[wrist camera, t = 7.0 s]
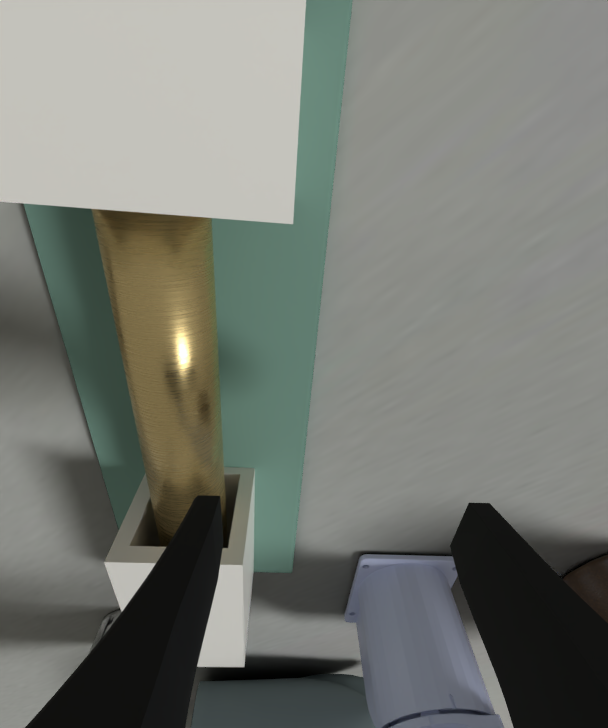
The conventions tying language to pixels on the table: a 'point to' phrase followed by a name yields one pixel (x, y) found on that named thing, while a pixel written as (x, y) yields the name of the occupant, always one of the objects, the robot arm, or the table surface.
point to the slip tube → (168, 353)
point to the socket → (152, 105)
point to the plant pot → (592, 584)
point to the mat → (224, 314)
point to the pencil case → (283, 703)
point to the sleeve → (234, 586)
